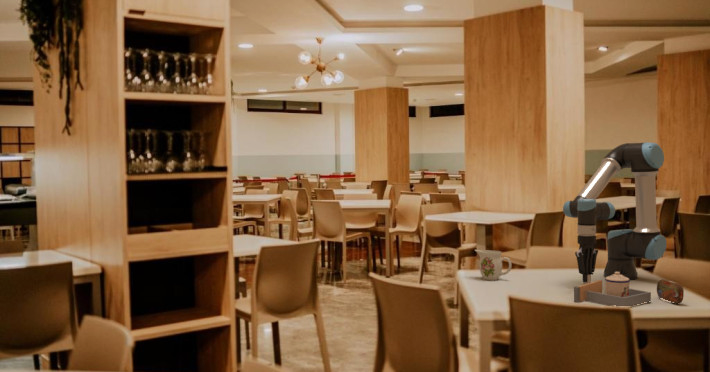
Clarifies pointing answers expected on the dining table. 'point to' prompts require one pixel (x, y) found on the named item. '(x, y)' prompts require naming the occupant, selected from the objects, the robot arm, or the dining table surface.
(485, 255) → the pitcher
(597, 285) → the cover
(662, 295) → the tin
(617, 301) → the grey tray
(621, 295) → the teacup with lid
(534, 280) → the dining table surface
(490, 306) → the dining table surface
